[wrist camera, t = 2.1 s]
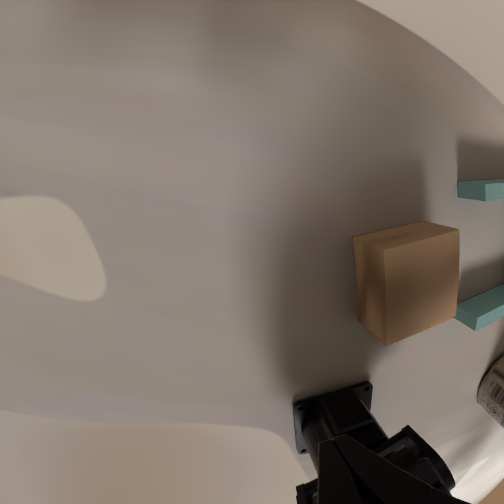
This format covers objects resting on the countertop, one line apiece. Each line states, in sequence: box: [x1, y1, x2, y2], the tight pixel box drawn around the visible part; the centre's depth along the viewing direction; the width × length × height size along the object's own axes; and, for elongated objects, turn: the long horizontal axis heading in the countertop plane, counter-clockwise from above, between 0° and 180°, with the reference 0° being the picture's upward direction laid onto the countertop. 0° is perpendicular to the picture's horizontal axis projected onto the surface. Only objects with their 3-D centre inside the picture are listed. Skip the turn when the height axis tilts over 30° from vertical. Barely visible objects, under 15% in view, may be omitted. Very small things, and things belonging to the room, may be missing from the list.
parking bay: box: [454, 179, 504, 331], centre depth 20 cm, size 11×10×3 cm
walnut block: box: [353, 221, 459, 346], centre depth 18 cm, size 6×6×4 cm
